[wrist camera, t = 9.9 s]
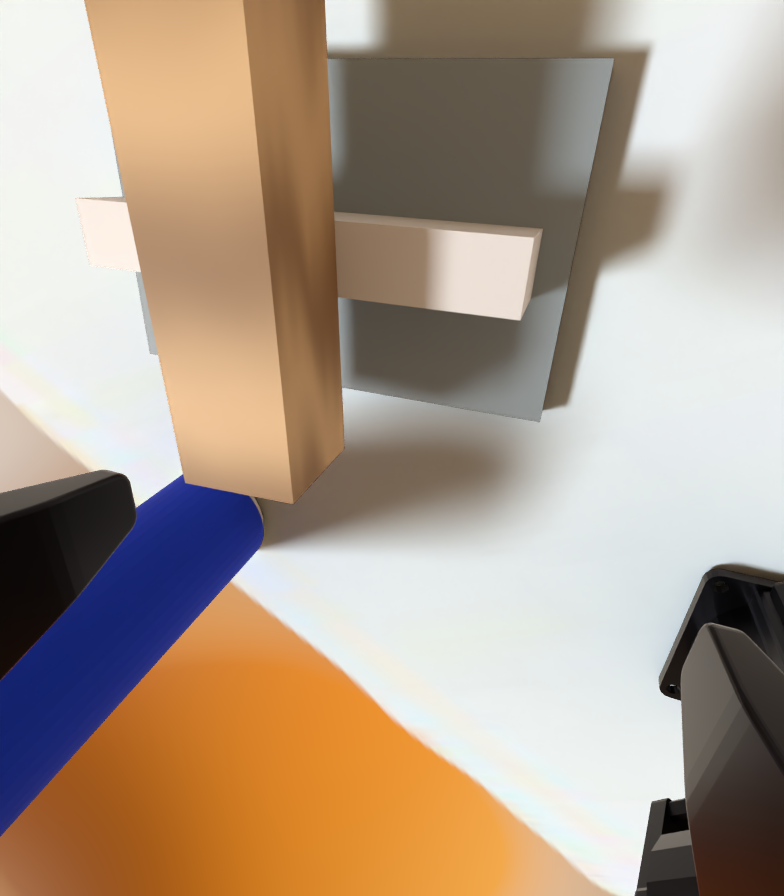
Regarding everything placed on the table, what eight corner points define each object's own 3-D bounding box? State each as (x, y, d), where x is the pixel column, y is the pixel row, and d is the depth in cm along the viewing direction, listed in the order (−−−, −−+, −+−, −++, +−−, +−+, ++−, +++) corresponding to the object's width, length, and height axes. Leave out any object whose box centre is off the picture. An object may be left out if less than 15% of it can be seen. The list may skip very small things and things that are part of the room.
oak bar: (344, 448, 17) (293, 504, 14) (251, 433, 18) (184, 482, 15) (322, -34, 11) (232, -109, 9) (190, -17, 12) (67, -80, 10)
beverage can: (218, 444, 24) (-193, 735, 11) (290, 527, 25) (-18, 884, 12) (163, 492, 27) (-220, 771, 14) (230, 565, 28) (-74, 891, 15)
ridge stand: (542, 411, 18) (532, 462, 15) (166, 347, 23) (92, 376, 19) (612, 65, 14) (621, 27, 10) (121, 64, 18) (13, 37, 14)
